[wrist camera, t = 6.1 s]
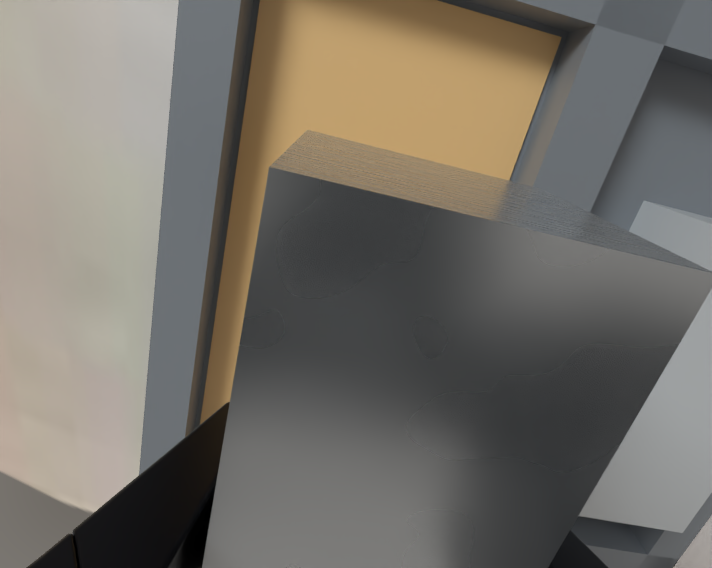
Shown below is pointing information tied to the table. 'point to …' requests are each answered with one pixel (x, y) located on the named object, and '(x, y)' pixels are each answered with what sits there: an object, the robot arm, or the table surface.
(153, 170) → the table surface
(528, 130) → the grey divided tray
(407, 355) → the block
